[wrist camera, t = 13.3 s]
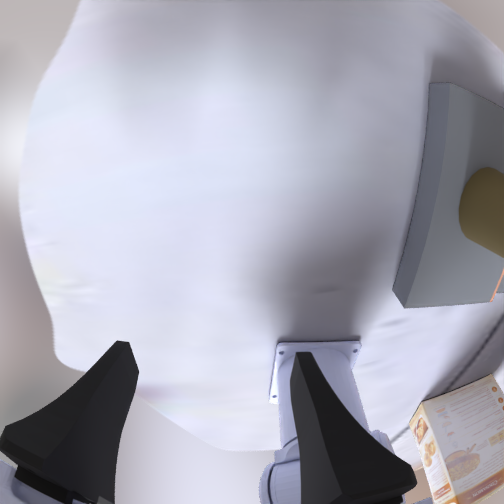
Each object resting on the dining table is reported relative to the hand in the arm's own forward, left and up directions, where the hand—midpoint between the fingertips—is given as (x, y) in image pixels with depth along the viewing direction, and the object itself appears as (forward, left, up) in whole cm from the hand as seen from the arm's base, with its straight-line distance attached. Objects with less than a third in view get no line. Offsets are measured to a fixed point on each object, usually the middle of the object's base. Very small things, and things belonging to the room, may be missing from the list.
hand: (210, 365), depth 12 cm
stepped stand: (+6, -22, -10) cm, 25 cm away
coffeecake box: (-24, -34, -11) cm, 43 cm away
